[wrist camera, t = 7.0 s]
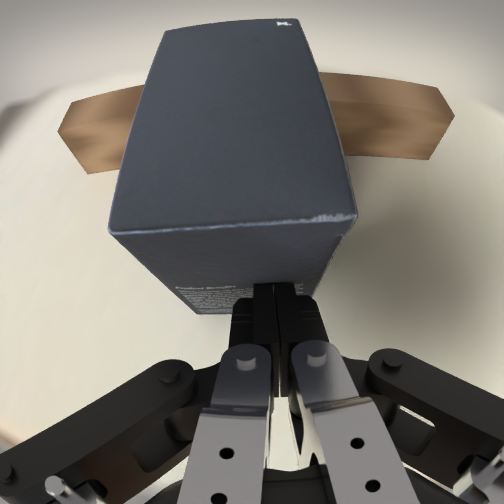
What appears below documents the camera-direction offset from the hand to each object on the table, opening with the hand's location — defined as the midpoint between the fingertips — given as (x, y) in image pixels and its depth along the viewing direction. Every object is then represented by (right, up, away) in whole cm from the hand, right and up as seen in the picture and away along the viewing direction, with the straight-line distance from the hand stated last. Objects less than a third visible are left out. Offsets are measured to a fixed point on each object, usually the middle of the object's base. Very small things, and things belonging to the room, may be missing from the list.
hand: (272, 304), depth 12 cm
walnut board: (0, +10, +9) cm, 13 cm away
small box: (-1, +3, +7) cm, 8 cm away
